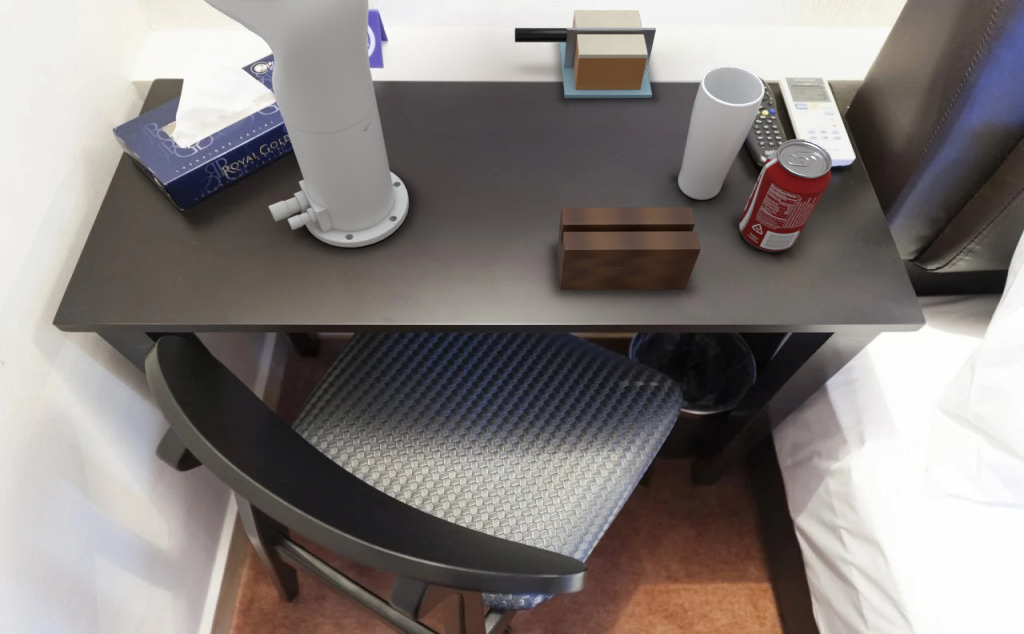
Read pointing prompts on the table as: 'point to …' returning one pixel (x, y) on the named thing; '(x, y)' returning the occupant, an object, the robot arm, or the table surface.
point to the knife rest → (626, 248)
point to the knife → (571, 36)
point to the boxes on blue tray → (607, 58)
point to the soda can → (785, 195)
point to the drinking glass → (718, 128)
